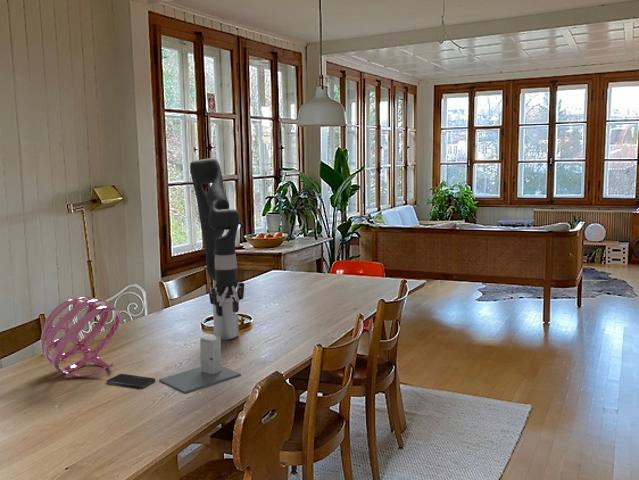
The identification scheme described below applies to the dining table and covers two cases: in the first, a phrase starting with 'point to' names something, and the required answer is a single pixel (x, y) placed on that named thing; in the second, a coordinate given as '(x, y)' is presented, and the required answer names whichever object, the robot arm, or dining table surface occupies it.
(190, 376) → the rubber mat
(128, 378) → the phone
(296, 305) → the dining table surface
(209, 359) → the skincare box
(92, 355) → the spiral basket
